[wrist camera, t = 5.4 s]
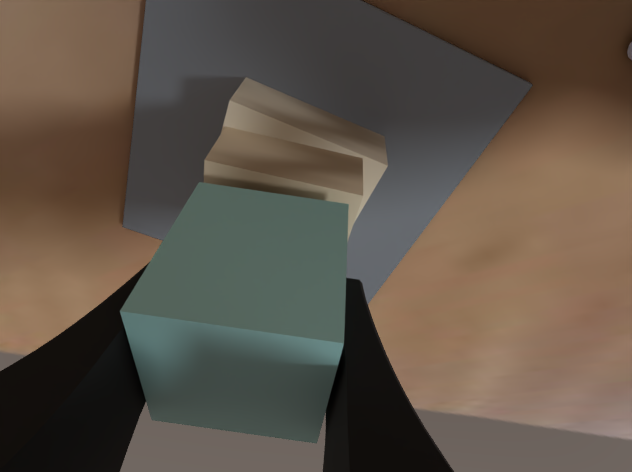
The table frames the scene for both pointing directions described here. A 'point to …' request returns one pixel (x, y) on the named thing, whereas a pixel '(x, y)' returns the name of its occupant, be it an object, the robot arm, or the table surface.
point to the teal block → (243, 313)
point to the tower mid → (285, 169)
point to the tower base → (306, 128)
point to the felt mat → (317, 90)
